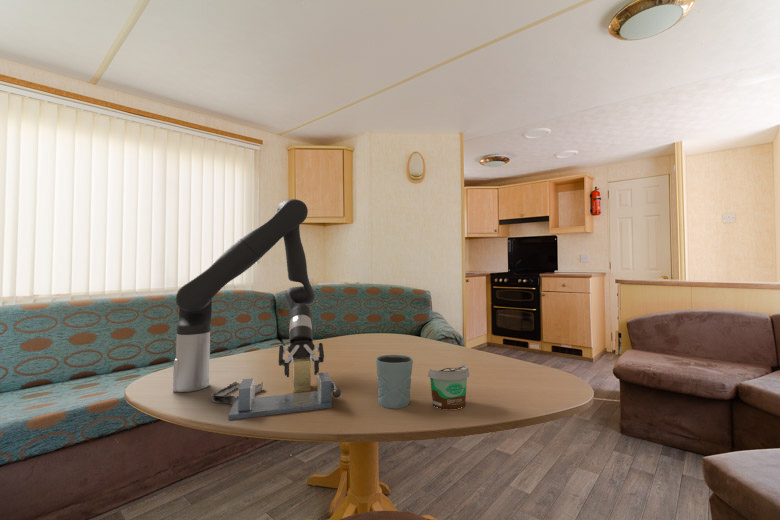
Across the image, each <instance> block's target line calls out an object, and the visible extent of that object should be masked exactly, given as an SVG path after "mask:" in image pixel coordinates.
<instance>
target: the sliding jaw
mask: <svg viewBox="0 0 780 520" xmlns="http://www.w3.org/2000/svg"><path fill="white" fill-rule="evenodd" d="M255 379H256V378H243V379H242V381H241V382H240V383H241V385H240V387H239V389H238V395H237V396H238V412H240V411H249V410H251V409H252V406H253V402H254V398H255V394H254V390H255V385H256V384H255V383H256V382H255Z"/></svg>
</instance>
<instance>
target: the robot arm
mask: <svg viewBox="0 0 780 520" xmlns="http://www.w3.org/2000/svg"><path fill="white" fill-rule="evenodd" d="M308 212H309V210H308V206H307V204H306V203H305V202H304V201H302V200H301V199H296V198H289V199H284V200H282V201H280V202H279V203H278V206H277V210H276V213H275V214H273V216H272V217H271V218H269V219H268V220H267V221H266V222H264V223H263V224H261V225H260V226H258V227H256V228H254V229H252V230H250V231H249V232H247V233H246V234H245V235H243V236H241V237H240V239H238V240H236V241H235V242H234V243H233V244H231V245H230V246H229V248H227V250H225V251H224V252H223V253H222V254H221V255H220V256H219V257H218V258H217V259H216V260H215V261H214V263H212V264H211V266H209V267H208V268H207V269H206V270H204V271H203V272H202V273H200V274H199V275H198V276H196V277H195V278H193V279H191V280H190V281H189V282H187V283H185V284H183V286H181V287H180V288H179V289H178V291H177V292H176V295H175V301H176V304H177V306H178V308H179V313H178V321H177V326H176V346H175V347H176V349H175V351H176V352H175V359H174V360H173V371H172V374H173V375H172V376H173V378H172V379H173V381H172V382H173V383H172V392H179V393H187V392H189V393H190V392H195V391H200V390H203V389H206V388H207V387H209V386H210V359H211V358H210V357H211V356H210V355H211V354H210V353H211V352H210V351H211V324H212V306H213V305H212V304H213V302H212V301H213V300H212V299H213V298H214V297H215V296H216V295H217V294H218V293H219V292H220V291H221V290H222V289H223V288H224V287H225V286H226V285H227V284H228V283H230V282H231V281H232V280H234V279H236V278H237V277H239V276H241V275H242V274H244V273H245V272H246V271H247V270H249V269H250V268H251V267H253V265H255V264H256V263H257V262H258V261H259V260H260V259H261V258H263V257H264V255H266V254H267V253H268V252H269V251H270V250H271V249H272V248H273V247H274V246H275V245H276V244H277V243H278V242H279V241H280V240H281V239H282V238H283V243H284V250H285V258H286V259H285V260H286V268H287V277H288V280H289V281H290V282H293V283H294V282H295V283H300V284H301V285H302V286H291V287H288V289H286V291H285V293H284V298H285V301H286V304H287V306H288V310H289V316H290V317H289V320H290V321H289V330H288V331H289V342H288V343H289V344H288V346H284V345H282V344H281V345H279V348H278V350H279V351H278V366H282V367H284V371H283V372H284V373H283V374H284V376H286V378H289V377H290V364H291V363H293V358H306V357H310V360H311V362H312V363H313V375H314V376H317V373H320V372H319V371H320V363H324V361H325V354H324V353H325V352H324V344H323V343H322V342H320V343H319V344H314V342H313V327H312V325H313V324H312V320H311V317H312V316H311V309H310V306H309V305H311V304H312V303H313V302H314V300H315V292H314V290H313V286H312V285H311V282H310V280H309V276H308V275H309V274H308V266H307V264H308V263H307V258H306V252H305V249H304V246H303V242H302V240H301V239H302V238H301V232H300V225H302V224H303V223H304V221H305V220H306V219H307V216H308V214H309V213H308ZM314 350H316V352H318V356H319V357H318V356H317V355H316V353H315V352H314ZM287 352H288V353H289V354H288V356H287V357H286V358H285V359H284V355H285V354H286V353H287Z"/></svg>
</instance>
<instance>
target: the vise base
mask: <svg viewBox="0 0 780 520" xmlns="http://www.w3.org/2000/svg"><path fill="white" fill-rule="evenodd" d="M316 376H317V377H316V378H317V379H316V381H317V382H316V384H317V385H316V390H315V391H302V392H293V393H285V394H276V395H267V396H258V397H257V396H256V397H255V396H254V402H253V406H252V409H251V410H249V411H240V412H238V399H236V400H235V401H234V404H232V405H231V408H230V410H229V413H228V421H232V420H233V419H234V420H241V418H242V419H248V418H249V417H250V418H257V417H258V416H259V417H266V415H267V416H274V415H284V414H290V413H299V412H307V411H308V412H309V411H317V410H325V409H332V408H333V402H332V396H333V397H334V398H335V399H338V398H340V397H341V395H342V391H341V390H340V389H339V388H337V386H336V384H335V382H334V381H333V380H332V378H331V377H330V374H329V372H327V371H325V372H318V373H317V375H316ZM259 417H258V418H259ZM250 418H249V419H250Z"/></svg>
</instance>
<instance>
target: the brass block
mask: <svg viewBox="0 0 780 520" xmlns="http://www.w3.org/2000/svg"><path fill="white" fill-rule="evenodd" d="M311 362H312V361H311V360H310V357H306V358H293V362H292V364H293V365H292V366H293V367H292V368H293V369H292V371H293V372H292V373H293V374H292V375H293V376H292V378H293V379H292V382H293V383H292V385H293V388H292V390H293V393H303V392H311V373H312V372H311V371H312V370H311V365H312V363H311Z"/></svg>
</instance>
